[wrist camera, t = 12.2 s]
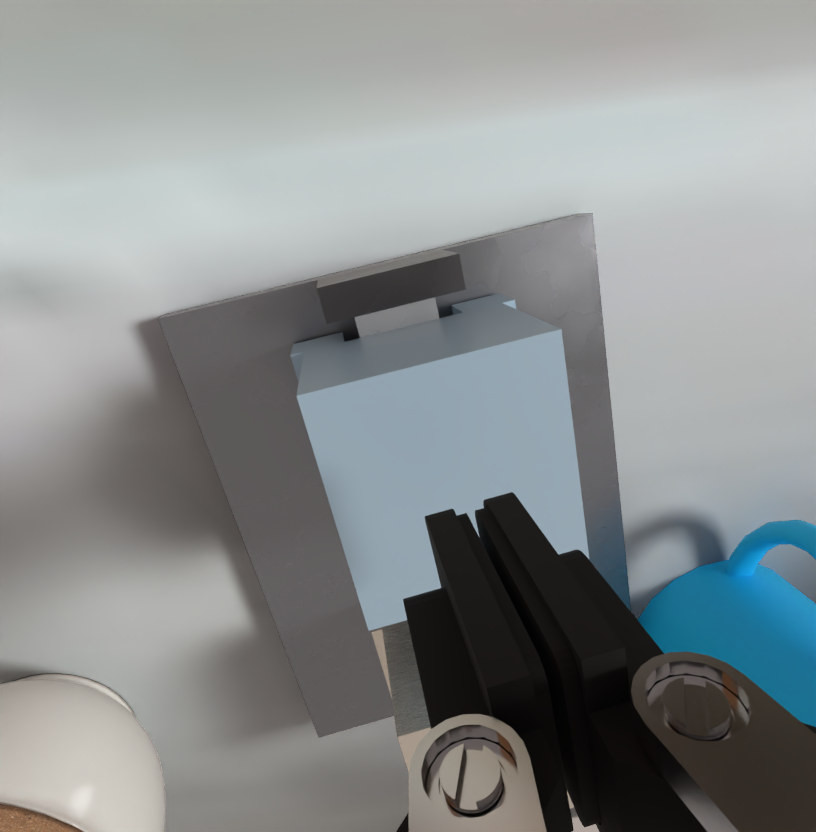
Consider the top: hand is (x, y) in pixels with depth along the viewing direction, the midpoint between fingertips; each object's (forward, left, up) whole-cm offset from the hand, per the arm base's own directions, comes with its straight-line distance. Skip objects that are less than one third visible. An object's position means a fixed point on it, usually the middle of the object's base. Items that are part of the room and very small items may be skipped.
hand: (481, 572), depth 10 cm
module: (0, 0, -9) cm, 9 cm away
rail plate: (0, +4, -10) cm, 11 cm away
